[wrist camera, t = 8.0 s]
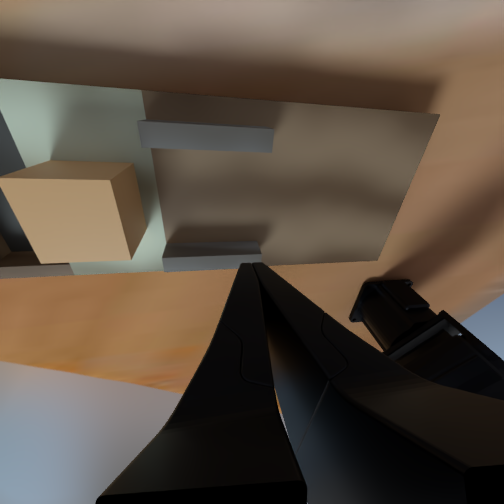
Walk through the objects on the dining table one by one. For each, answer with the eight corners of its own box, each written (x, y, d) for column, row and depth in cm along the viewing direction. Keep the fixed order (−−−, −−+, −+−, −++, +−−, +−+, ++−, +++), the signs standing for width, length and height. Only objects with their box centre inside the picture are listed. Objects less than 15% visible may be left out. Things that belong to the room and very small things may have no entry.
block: (147, 229, 16) (131, 260, 13) (77, 230, 15) (41, 263, 12) (133, 162, 14) (110, 180, 10) (50, 160, 13) (-5, 178, 10)
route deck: (362, 247, 24) (391, 273, 20) (6, 260, 18) (-46, 299, 14) (412, 113, 17) (468, 115, 14) (-111, 71, 12) (-257, 55, 8)
